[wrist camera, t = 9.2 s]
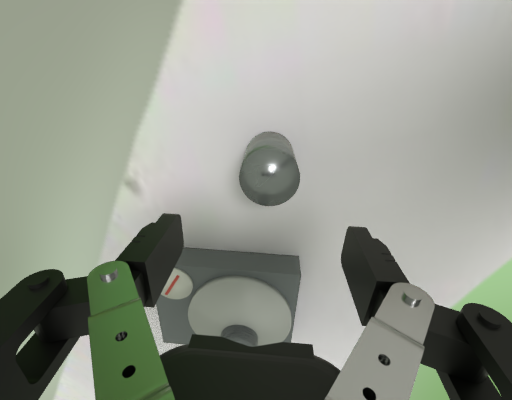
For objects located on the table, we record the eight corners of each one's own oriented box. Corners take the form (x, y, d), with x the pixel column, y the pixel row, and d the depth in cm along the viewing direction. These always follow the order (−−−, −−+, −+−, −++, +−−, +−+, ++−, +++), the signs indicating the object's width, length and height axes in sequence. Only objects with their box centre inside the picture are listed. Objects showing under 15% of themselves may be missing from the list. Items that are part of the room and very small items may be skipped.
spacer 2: (292, 129, 23) (299, 146, 18) (294, 175, 25) (300, 203, 20) (243, 134, 24) (235, 152, 18) (248, 179, 25) (243, 207, 20)
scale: (298, 256, 29) (301, 282, 26) (288, 332, 35) (289, 362, 32) (159, 245, 30) (144, 269, 26) (172, 322, 36) (160, 349, 32)
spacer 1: (258, 326, 29) (254, 384, 24) (257, 351, 31) (253, 409, 26) (220, 323, 29) (207, 379, 24) (220, 347, 31) (209, 405, 26)
